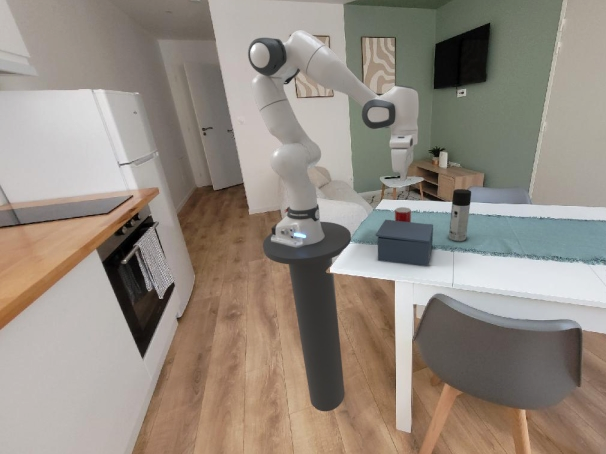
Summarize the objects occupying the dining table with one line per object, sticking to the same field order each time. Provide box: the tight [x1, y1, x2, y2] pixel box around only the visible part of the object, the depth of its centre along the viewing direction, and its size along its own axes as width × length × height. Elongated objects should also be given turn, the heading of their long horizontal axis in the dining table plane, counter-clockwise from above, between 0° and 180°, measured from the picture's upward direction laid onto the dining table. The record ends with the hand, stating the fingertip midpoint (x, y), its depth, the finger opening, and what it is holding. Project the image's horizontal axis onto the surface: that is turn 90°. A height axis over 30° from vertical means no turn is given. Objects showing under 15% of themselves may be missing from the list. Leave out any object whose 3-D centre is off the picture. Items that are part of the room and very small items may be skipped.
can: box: [394, 206, 412, 222], centre depth 119 cm, size 6×6×12 cm
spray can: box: [448, 188, 472, 243], centre depth 114 cm, size 7×7×20 cm
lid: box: [374, 219, 434, 243], centre depth 105 cm, size 18×15×1 cm
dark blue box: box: [377, 228, 434, 267], centre depth 106 cm, size 18×15×9 cm
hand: (403, 180), depth 102 cm, fingers closed
